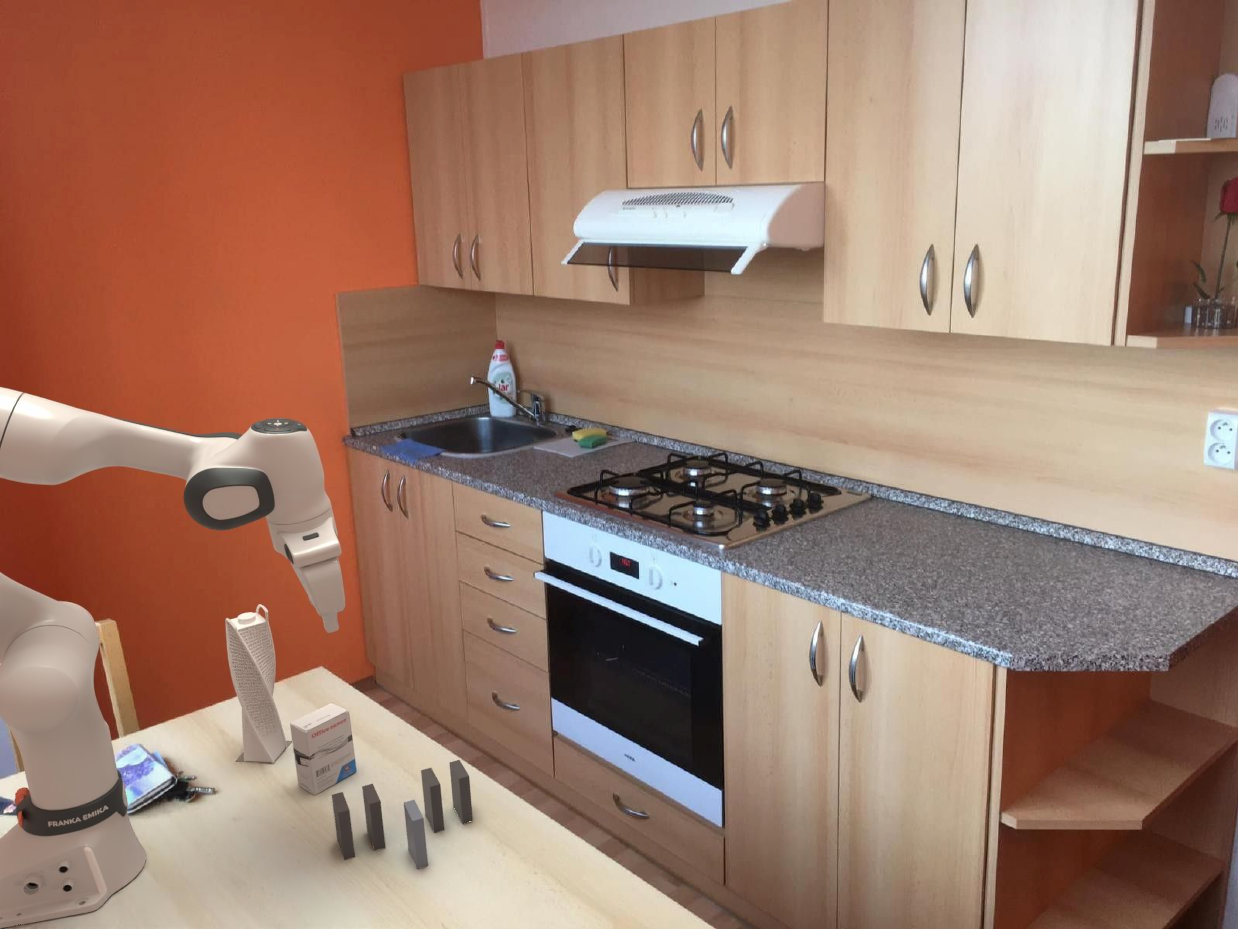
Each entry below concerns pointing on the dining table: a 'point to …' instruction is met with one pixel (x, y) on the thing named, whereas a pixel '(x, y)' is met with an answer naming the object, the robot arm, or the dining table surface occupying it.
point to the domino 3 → (415, 834)
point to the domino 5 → (461, 791)
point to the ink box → (323, 748)
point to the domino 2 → (373, 817)
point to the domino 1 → (343, 825)
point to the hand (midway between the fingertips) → (324, 616)
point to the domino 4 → (432, 800)
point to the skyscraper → (255, 686)
